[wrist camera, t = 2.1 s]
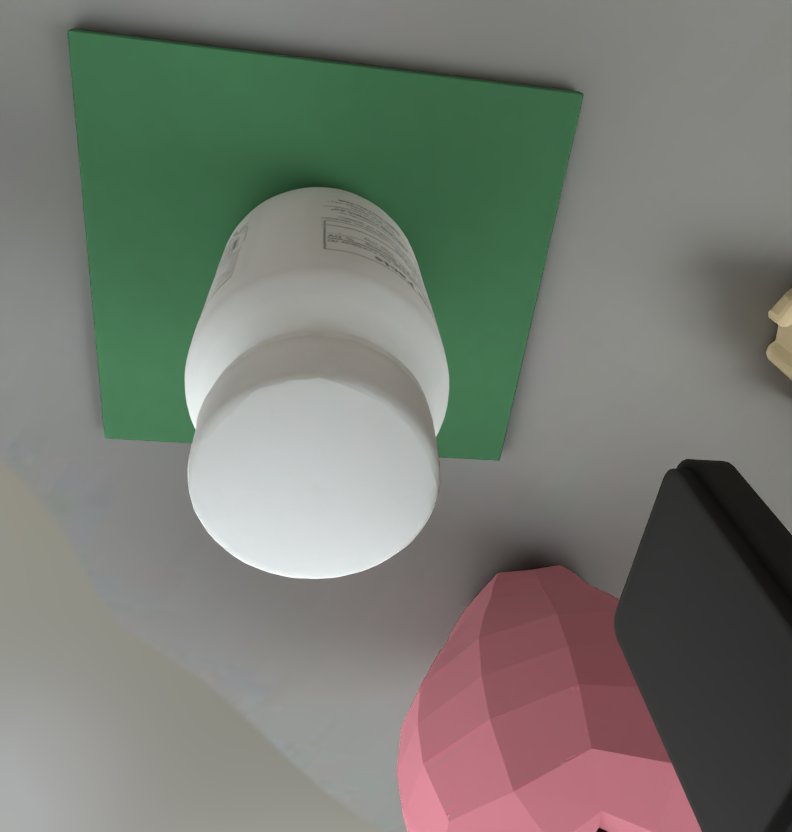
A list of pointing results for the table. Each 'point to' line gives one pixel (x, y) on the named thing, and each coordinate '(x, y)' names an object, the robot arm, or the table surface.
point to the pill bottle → (316, 389)
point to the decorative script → (782, 335)
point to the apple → (536, 721)
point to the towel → (302, 168)
